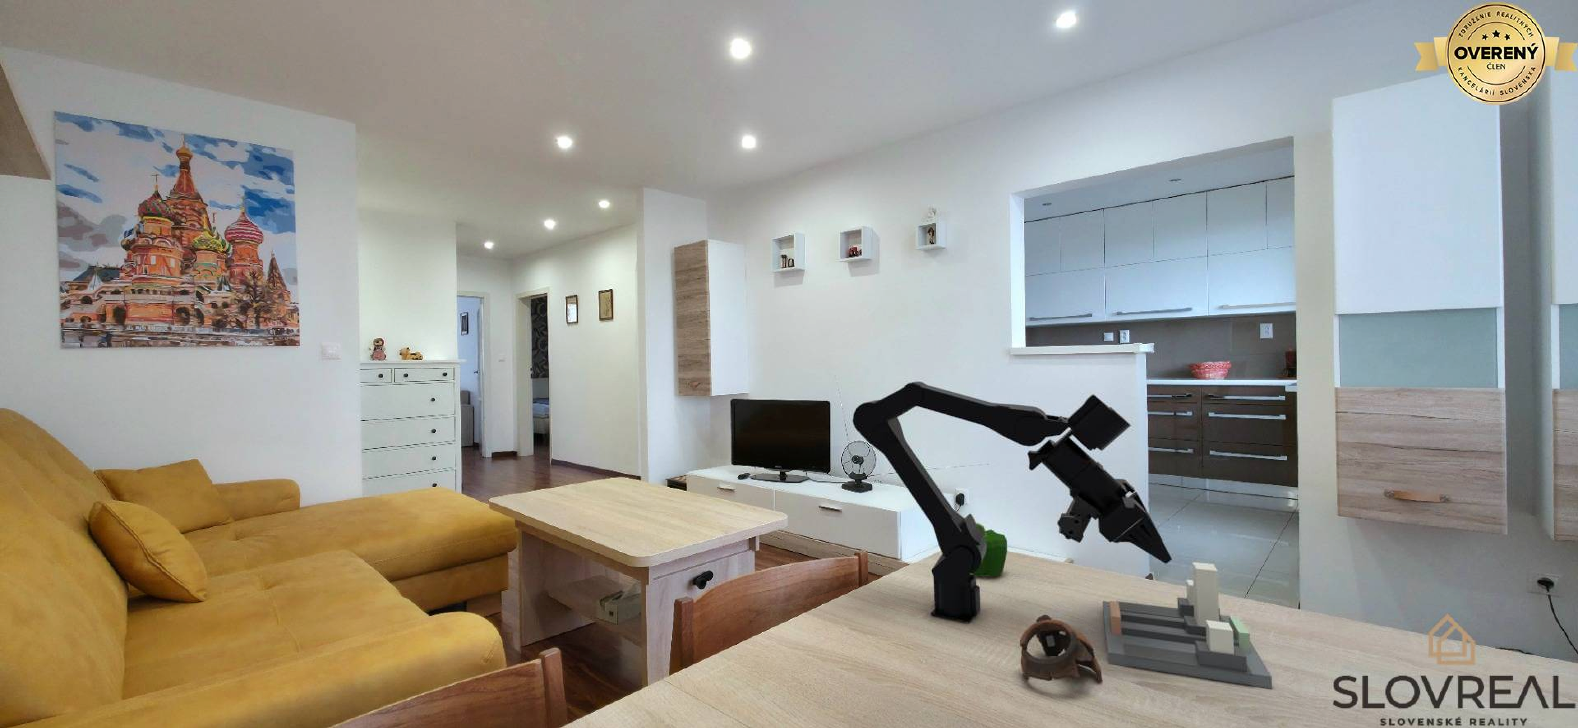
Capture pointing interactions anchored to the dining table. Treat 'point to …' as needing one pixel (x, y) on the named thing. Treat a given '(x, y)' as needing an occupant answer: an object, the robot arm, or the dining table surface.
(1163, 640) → the board
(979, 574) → the bell pepper
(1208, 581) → the breaker handle
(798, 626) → the dining table surface
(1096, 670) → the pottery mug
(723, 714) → the dining table surface
